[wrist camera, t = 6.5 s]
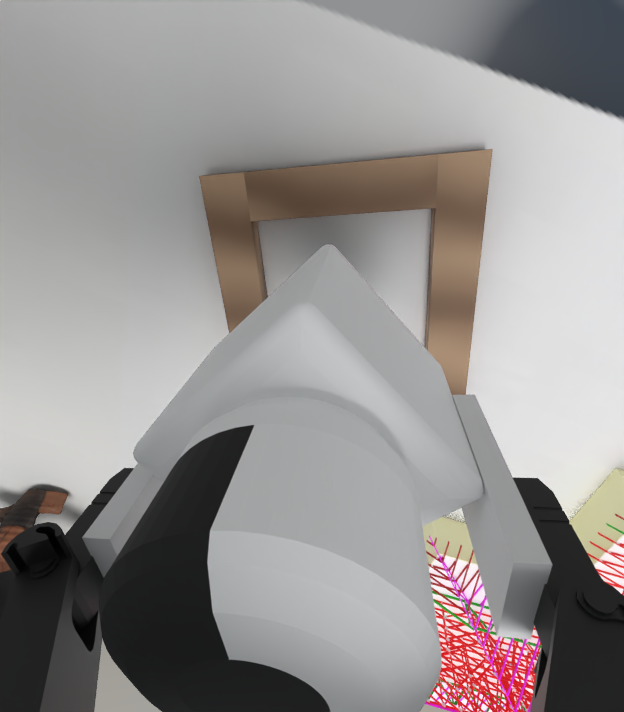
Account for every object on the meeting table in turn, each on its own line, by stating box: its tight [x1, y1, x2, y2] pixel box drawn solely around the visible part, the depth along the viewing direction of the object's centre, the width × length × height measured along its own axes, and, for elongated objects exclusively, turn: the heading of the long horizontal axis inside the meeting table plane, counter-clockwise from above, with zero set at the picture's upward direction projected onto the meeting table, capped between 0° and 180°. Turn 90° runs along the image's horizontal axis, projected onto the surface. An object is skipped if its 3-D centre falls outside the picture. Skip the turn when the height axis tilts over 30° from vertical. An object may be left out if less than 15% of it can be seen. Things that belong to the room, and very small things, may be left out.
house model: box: [423, 468, 624, 712], centre depth 37 cm, size 38×25×10 cm
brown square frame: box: [199, 149, 492, 395], centre depth 28 cm, size 18×18×2 cm
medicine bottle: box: [98, 244, 484, 712], centre depth 11 cm, size 7×7×12 cm
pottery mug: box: [0, 489, 68, 572], centre depth 43 cm, size 12×9×8 cm
